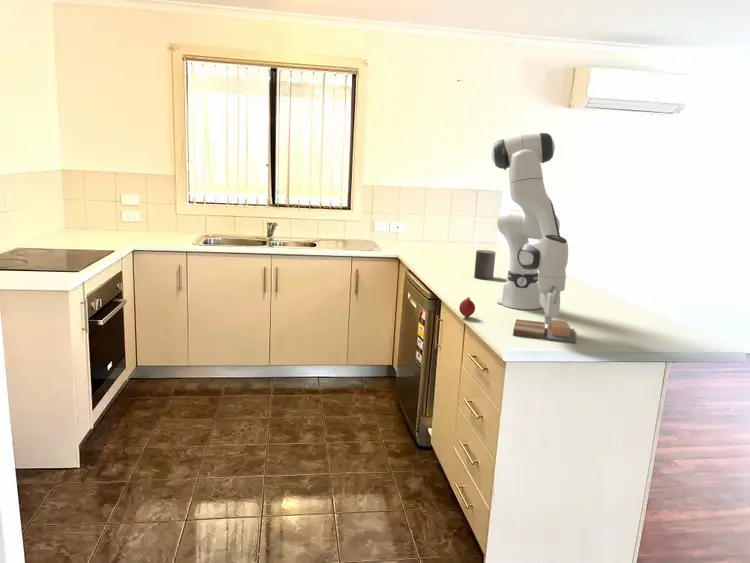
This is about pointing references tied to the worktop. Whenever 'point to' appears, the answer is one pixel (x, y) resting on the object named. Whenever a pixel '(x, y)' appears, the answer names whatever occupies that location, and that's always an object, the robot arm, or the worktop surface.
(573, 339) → the mat
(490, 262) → the pillar candle
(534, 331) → the board
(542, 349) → the worktop surface
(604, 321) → the worktop surface
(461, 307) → the onion
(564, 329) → the orange rectangular block
